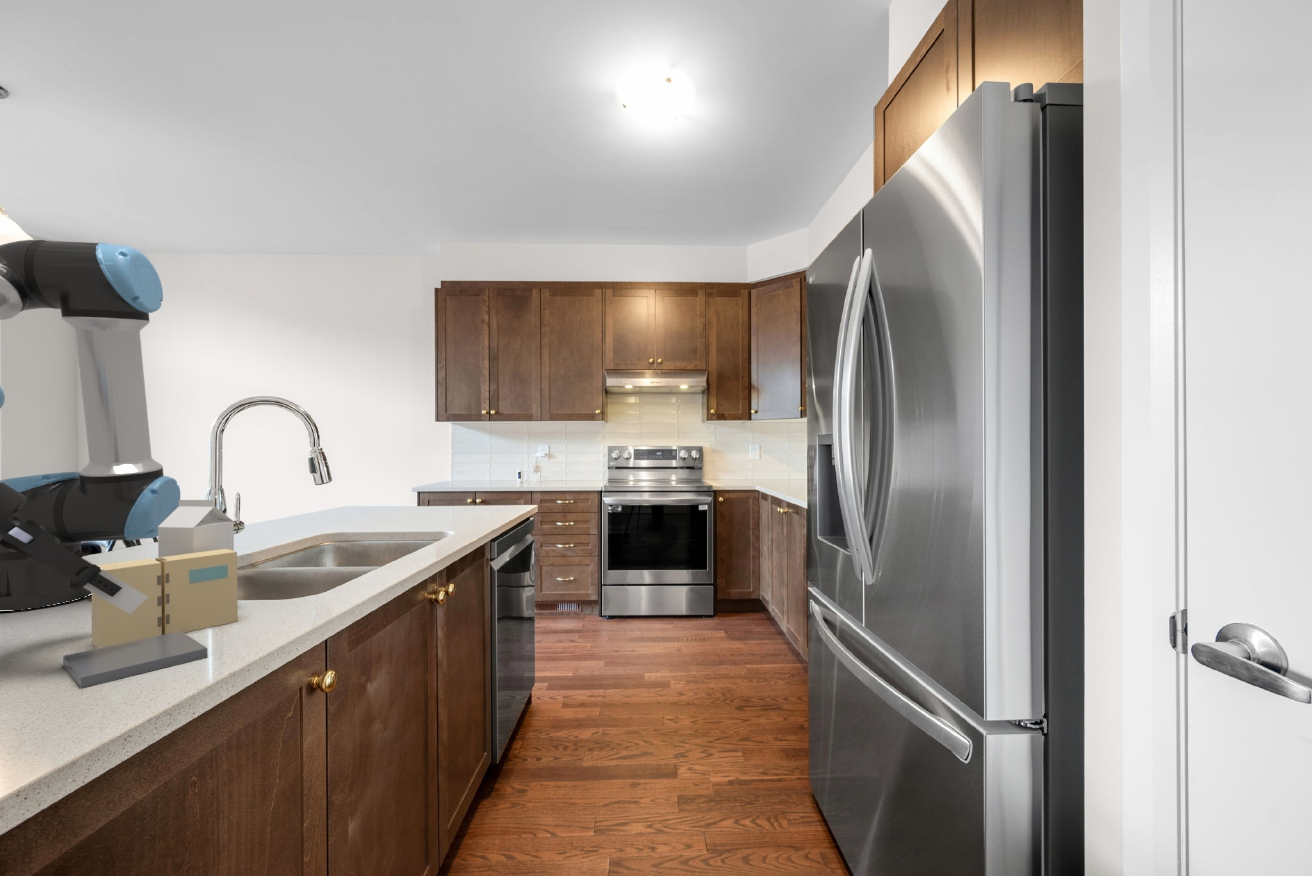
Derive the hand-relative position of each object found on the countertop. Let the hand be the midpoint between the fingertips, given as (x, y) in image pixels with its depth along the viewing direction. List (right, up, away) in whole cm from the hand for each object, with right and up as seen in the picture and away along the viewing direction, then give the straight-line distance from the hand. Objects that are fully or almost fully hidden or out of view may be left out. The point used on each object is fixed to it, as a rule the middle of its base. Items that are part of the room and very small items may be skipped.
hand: (127, 598), depth 84 cm
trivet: (+8, -6, -8) cm, 13 cm away
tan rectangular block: (0, -6, 0) cm, 6 cm away
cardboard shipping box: (+5, -6, +7) cm, 10 cm away
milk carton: (0, -7, +13) cm, 15 cm away
